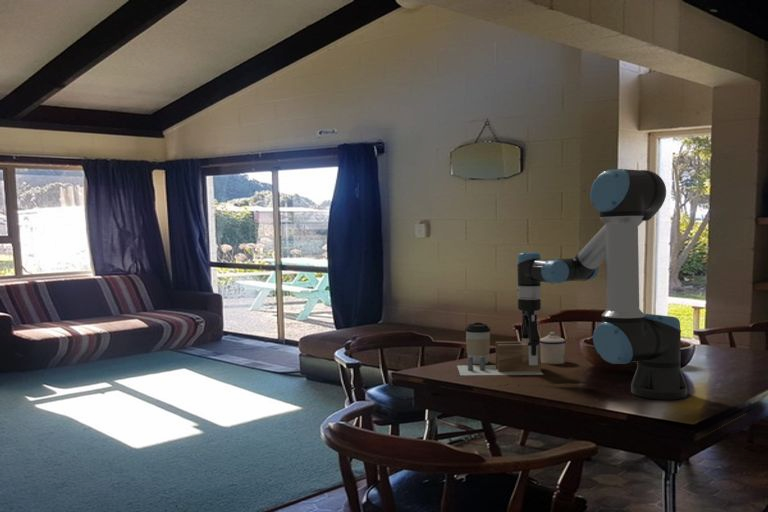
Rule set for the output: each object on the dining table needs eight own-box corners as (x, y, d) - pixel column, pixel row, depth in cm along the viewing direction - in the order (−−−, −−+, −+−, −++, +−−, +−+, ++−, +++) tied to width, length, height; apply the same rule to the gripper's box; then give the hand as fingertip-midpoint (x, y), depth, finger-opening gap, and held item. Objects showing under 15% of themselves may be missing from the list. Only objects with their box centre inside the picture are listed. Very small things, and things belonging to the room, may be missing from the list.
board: (543, 378, 219) (543, 360, 219) (460, 378, 220) (460, 361, 220) (534, 368, 235) (534, 352, 235) (457, 368, 236) (456, 352, 236)
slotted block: (540, 371, 224) (540, 344, 223) (498, 372, 224) (498, 345, 224) (536, 367, 231) (536, 341, 230) (495, 367, 231) (495, 341, 231)
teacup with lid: (570, 366, 237) (570, 333, 236) (546, 368, 235) (545, 334, 235) (555, 360, 249) (554, 329, 248) (532, 361, 247) (531, 330, 246)
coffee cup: (490, 368, 237) (489, 325, 236) (464, 367, 238) (464, 325, 238) (491, 363, 245) (491, 322, 245) (466, 362, 247) (466, 322, 247)
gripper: (512, 294, 239) (512, 354, 240) (524, 302, 214) (524, 368, 215) (533, 294, 239) (534, 353, 240) (547, 302, 214) (548, 368, 215)
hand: (529, 361), depth 227 cm, fingers open, 13 cm apart
